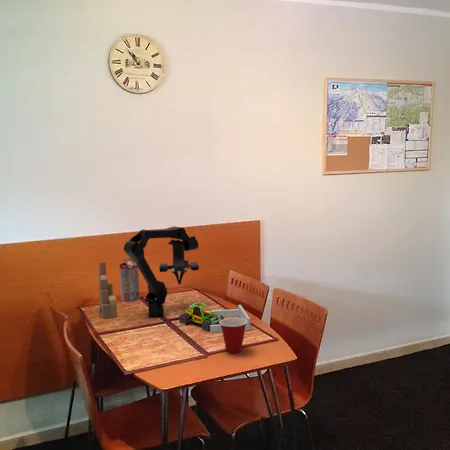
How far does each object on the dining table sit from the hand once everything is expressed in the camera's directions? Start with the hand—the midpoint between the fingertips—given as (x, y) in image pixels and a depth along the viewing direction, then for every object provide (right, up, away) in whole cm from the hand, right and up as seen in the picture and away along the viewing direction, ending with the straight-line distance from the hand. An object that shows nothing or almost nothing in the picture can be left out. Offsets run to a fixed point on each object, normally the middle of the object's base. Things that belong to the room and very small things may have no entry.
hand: (179, 284), depth 233 cm
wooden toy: (-34, -13, -4) cm, 36 cm away
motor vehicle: (+12, -16, -19) cm, 27 cm away
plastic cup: (+25, -20, -48) cm, 57 cm away
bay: (+22, -15, -19) cm, 33 cm away
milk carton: (-27, -10, +16) cm, 33 cm away
